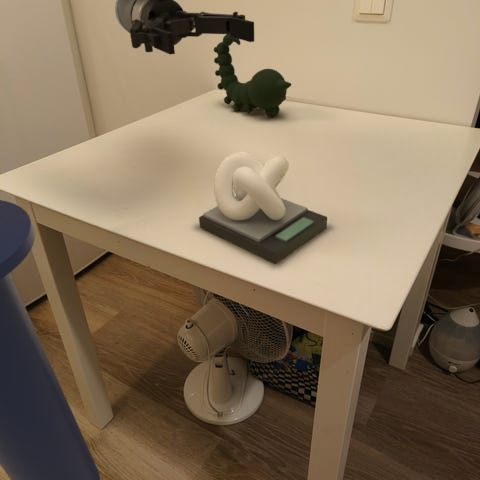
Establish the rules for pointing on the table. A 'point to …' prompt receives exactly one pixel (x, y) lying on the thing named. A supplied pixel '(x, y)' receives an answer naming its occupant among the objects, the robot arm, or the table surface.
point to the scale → (266, 230)
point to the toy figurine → (249, 84)
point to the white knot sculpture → (250, 186)
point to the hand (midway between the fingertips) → (213, 37)
